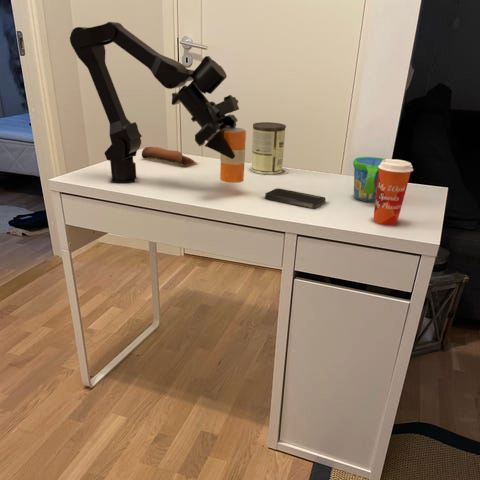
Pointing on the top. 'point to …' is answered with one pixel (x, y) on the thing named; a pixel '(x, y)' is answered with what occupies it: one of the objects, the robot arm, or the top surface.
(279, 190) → the phone
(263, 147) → the coffee can
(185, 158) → the brown elongated rounded bar
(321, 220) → the top surface
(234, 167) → the juice can
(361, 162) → the snack cup
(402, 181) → the paper cup
